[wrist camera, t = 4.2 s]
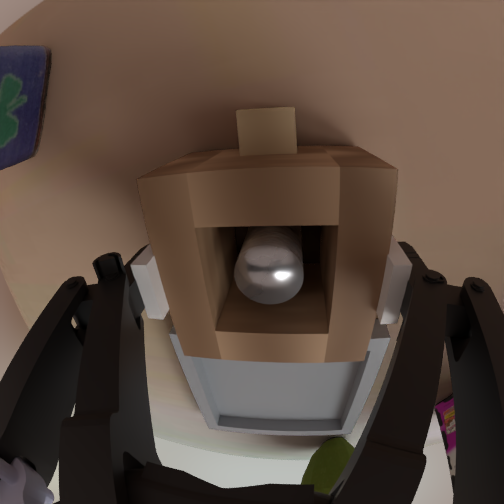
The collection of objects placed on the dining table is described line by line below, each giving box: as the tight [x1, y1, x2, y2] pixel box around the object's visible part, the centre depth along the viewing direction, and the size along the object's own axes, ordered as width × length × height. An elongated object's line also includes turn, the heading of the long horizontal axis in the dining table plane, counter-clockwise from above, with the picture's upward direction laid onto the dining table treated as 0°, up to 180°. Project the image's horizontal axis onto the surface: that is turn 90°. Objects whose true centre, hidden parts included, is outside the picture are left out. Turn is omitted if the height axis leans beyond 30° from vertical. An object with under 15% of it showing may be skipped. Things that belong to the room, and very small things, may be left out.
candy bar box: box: [435, 395, 456, 493], centre depth 15 cm, size 11×5×16 cm, turn 142°
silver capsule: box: [234, 225, 304, 304], centre depth 14 cm, size 3×3×6 cm
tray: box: [169, 319, 390, 436], centre depth 22 cm, size 15×15×2 cm
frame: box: [136, 107, 398, 363], centre depth 13 cm, size 9×11×6 cm
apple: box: [301, 437, 355, 494], centre depth 24 cm, size 9×8×12 cm
